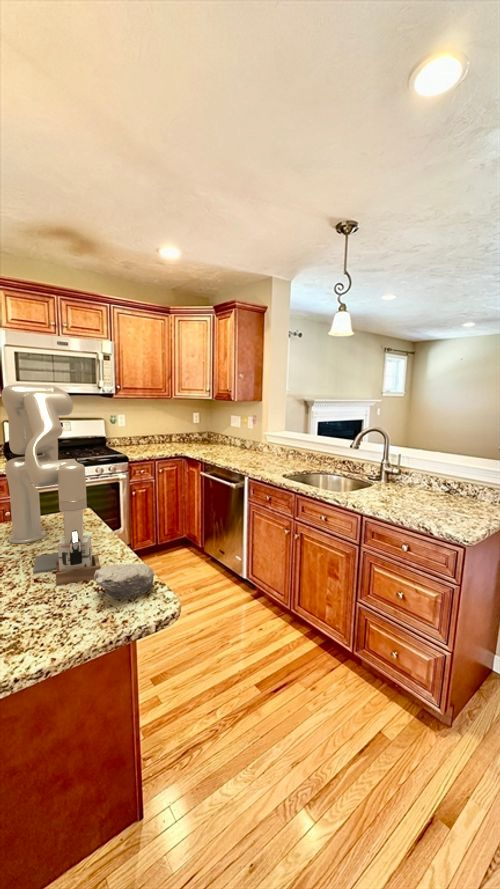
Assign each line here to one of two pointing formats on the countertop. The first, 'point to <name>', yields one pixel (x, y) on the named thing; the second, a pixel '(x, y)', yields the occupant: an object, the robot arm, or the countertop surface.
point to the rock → (125, 580)
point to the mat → (45, 563)
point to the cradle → (77, 573)
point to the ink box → (65, 551)
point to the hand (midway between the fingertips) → (75, 557)
